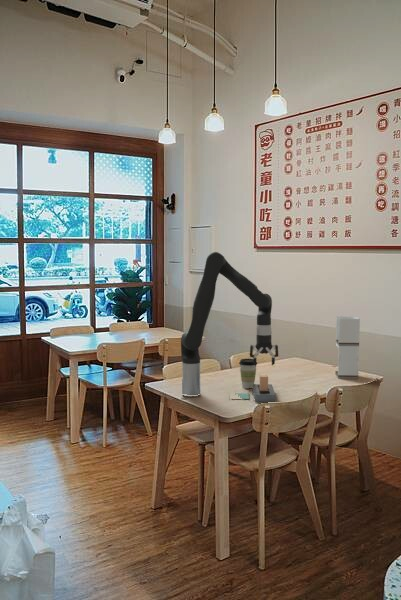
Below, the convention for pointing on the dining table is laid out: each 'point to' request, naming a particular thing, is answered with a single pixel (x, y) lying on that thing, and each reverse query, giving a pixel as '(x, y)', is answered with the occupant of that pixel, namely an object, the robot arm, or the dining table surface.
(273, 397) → the grey socket block
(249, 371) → the coffee cup
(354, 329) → the white banded pillar
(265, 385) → the terracotta peg
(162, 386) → the dining table surface
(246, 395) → the green mat
